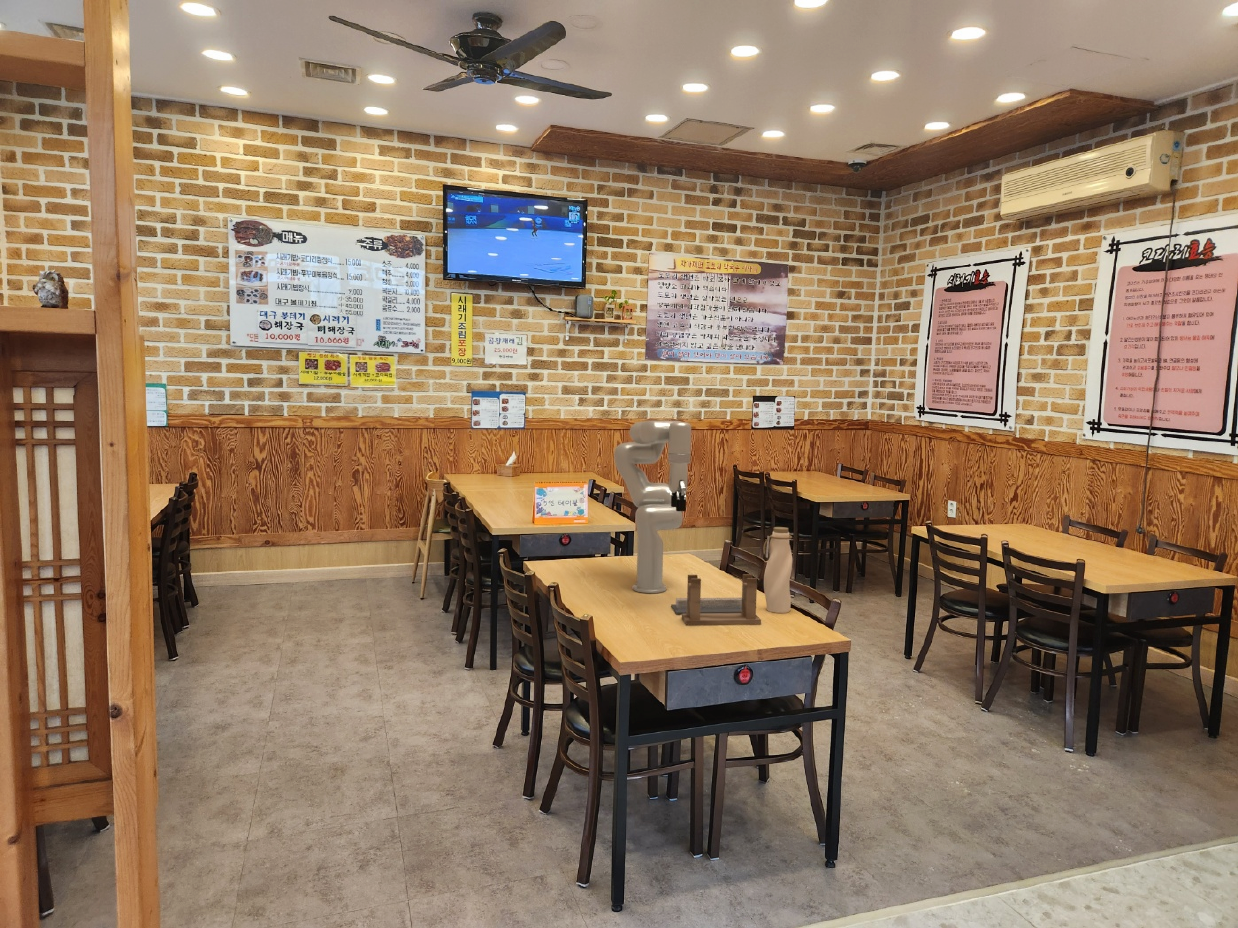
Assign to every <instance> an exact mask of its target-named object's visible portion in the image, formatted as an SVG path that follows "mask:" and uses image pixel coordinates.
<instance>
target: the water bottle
mask: <svg viewBox="0 0 1238 928" xmlns="http://www.w3.org/2000/svg"><path fill="white" fill-rule="evenodd" d="M792 538H793V536H792V535H791V534H790V532H789V527H783V526H775V527H773V531H772V534H770V536H769V535H767V539H766V540H765V541H764V543H763V547H762V550H763V551H762V552H763V555H765V558H766V559H767V563H766V565H765V566H766V567H765V569H764V575H763V591H764V596H765V597H764V598H765V603H766V611H768V612H769V613H770V612H771V613H774V614H776V613H777V614H786V613H789V612H791V604H792V603H791V602H792V600H791V599H792V597H791V592H790V591H791V590H790V581H791V575H792V570H793V554H792V549H791V545H790V539H792Z"/></svg>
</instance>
